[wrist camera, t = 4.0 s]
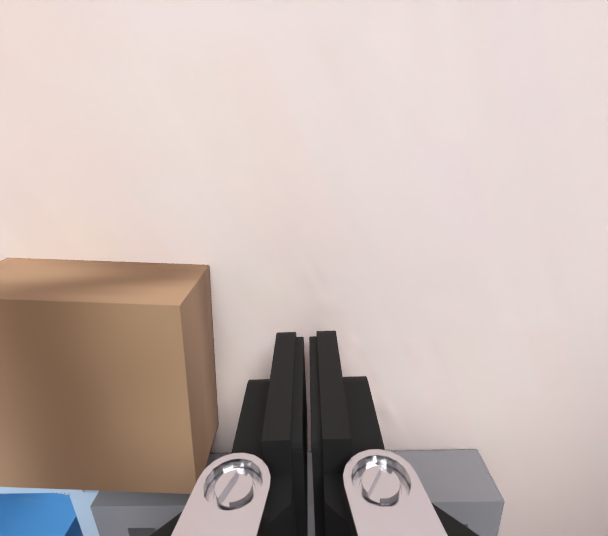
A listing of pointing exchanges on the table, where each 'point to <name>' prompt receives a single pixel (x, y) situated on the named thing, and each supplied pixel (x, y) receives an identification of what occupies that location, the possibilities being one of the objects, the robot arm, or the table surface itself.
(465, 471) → the tray
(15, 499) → the perfume bottle
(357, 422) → the robot arm
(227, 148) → the table surface
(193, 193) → the table surface
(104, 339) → the brown cardboard box
